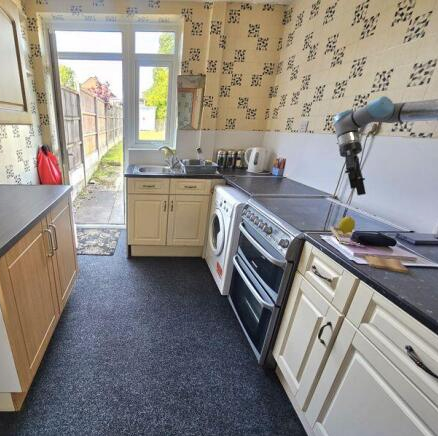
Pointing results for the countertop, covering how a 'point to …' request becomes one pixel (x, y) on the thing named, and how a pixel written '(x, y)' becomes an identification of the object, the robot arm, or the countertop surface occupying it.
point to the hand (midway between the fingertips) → (358, 191)
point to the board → (386, 264)
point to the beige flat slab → (342, 234)
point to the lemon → (346, 224)
